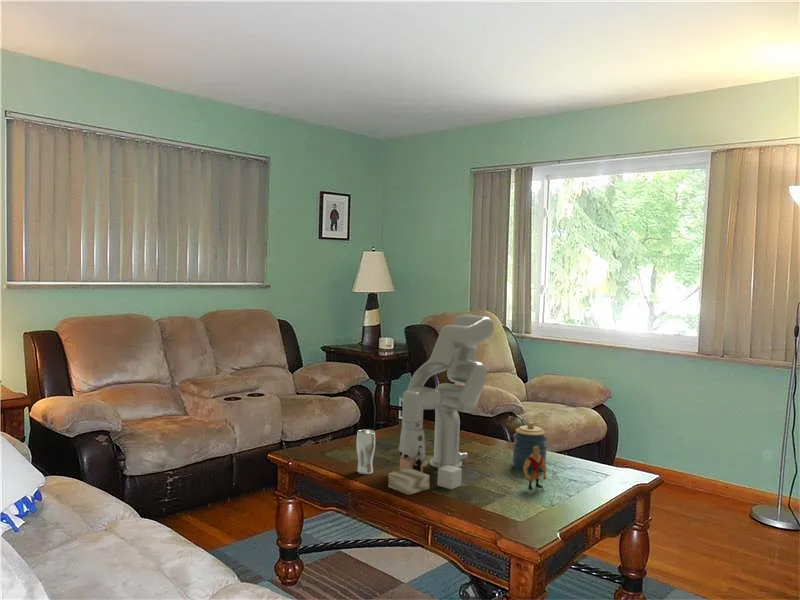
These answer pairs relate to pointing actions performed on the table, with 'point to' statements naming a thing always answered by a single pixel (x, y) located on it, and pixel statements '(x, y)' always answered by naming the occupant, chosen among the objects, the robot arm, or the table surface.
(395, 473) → the ash base block
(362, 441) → the beer glass
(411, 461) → the terracotta block
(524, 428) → the canister
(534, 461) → the action figure
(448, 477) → the grey block
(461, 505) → the table surface
